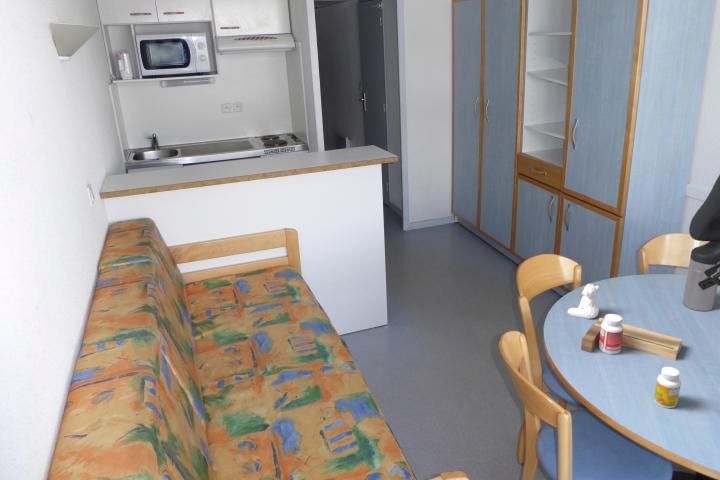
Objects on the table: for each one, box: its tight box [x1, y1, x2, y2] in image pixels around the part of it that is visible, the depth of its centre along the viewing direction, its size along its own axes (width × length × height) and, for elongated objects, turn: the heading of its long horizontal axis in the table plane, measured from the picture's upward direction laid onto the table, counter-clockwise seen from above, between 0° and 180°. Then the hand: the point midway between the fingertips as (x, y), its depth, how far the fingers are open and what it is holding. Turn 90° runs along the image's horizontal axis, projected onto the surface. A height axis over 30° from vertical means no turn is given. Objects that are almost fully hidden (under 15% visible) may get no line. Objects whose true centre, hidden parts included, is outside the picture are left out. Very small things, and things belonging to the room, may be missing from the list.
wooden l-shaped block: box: [580, 317, 683, 361], centre depth 167 cm, size 18×24×4 cm
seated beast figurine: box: [567, 283, 600, 320], centre depth 186 cm, size 10×9×12 cm
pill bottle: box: [598, 313, 623, 355], centre depth 166 cm, size 6×6×11 cm
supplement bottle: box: [653, 366, 682, 409], centre depth 143 cm, size 5×5×10 cm
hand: (703, 280), depth 145 cm, fingers open, 8 cm apart
